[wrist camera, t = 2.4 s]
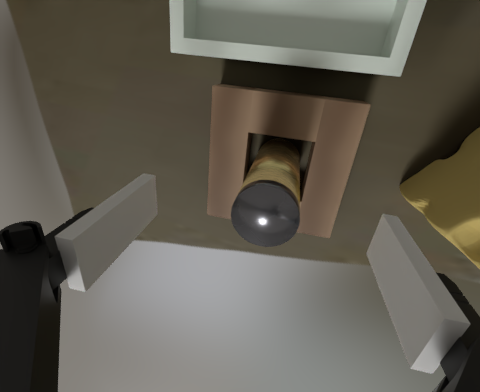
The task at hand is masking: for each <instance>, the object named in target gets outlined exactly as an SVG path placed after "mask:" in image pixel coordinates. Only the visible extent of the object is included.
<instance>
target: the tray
mask: <svg viewBox="0 0 480 392" xmlns="http://www.w3.org/2000/svg"><path fill="white" fill-rule="evenodd" d="M426 1H427V0H170V40H171V52H172V53H180V54H188V55H198V56H207V57H217V58H226V59H236V60H245V61H254V62H264V63H273V64H283V65H292V66H302V67H311V68H320V69H330V70H339V71H349V72H358V73H368V74H377V75H387V76H399V77H401V74H402V71H403V68H404V65H405V62H406V59H407V57H408V54H409V51H410V48H411V45H412V42H413V39H414V36H415V33H416V30H417V27H418V25H419V22H420V19H421V16H422V13H423V10H424V7H425V4H426Z"/></svg>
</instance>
